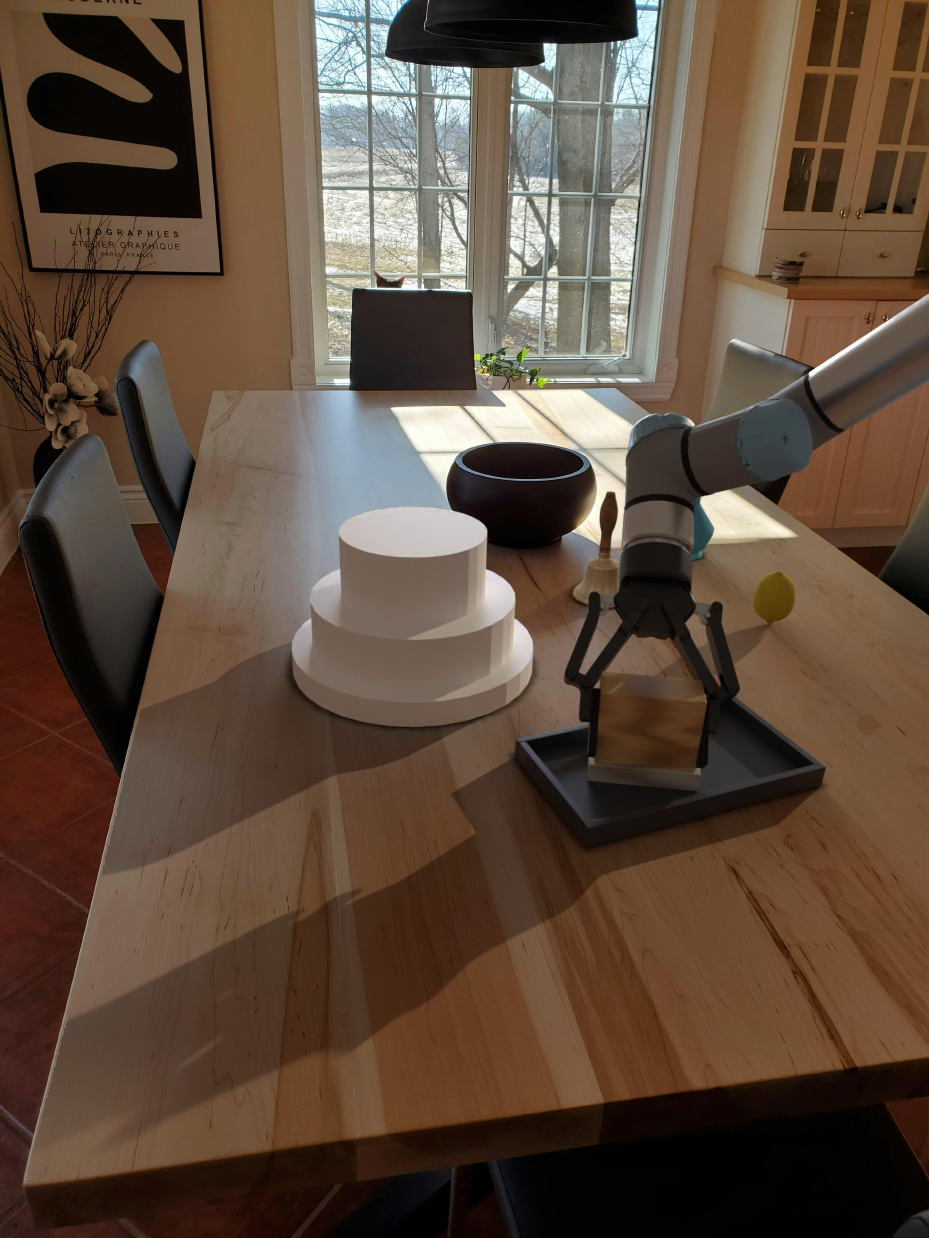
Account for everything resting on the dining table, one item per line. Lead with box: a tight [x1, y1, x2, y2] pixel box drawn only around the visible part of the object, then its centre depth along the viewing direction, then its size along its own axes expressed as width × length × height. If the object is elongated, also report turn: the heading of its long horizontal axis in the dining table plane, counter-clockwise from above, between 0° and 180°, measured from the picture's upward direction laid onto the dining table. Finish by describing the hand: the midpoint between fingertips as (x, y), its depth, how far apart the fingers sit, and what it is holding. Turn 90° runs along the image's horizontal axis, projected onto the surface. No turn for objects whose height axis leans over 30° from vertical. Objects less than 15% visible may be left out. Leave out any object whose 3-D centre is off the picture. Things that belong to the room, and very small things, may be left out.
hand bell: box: [572, 490, 620, 606], centre depth 130 cm, size 8×8×16 cm
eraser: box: [587, 671, 707, 792], centre depth 90 cm, size 11×6×10 cm, turn 82°
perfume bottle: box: [690, 497, 715, 561], centre depth 147 cm, size 9×9×15 cm
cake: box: [291, 506, 534, 728], centre depth 110 cm, size 30×30×18 cm
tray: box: [514, 696, 827, 849], centre depth 93 cm, size 16×28×2 cm, turn 112°
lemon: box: [752, 570, 797, 625], centre depth 125 cm, size 6×6×8 cm
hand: (646, 760), depth 88 cm, fingers closed on eraser, 10 cm apart
